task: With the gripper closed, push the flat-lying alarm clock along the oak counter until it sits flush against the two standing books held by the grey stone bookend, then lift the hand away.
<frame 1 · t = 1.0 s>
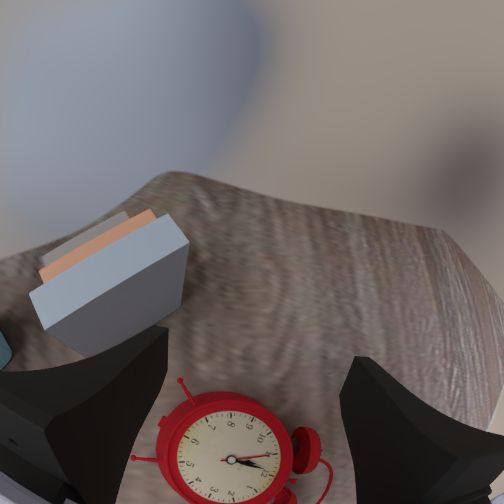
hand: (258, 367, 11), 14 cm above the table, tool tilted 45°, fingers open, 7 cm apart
alarm clock: (239, 459, 20), on the table
book row: (118, 305, 24), on the table
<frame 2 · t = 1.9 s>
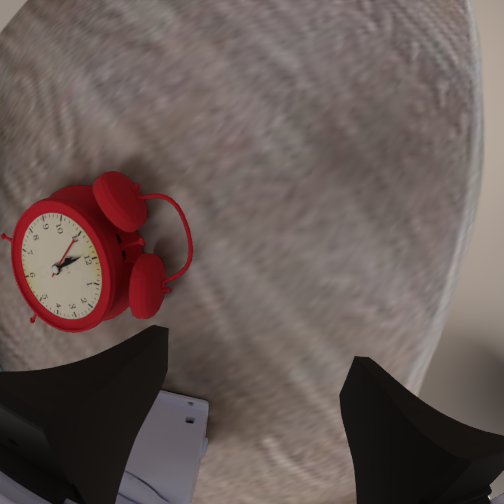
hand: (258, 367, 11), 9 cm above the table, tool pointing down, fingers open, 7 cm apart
alarm clock: (102, 248, 20), on the table
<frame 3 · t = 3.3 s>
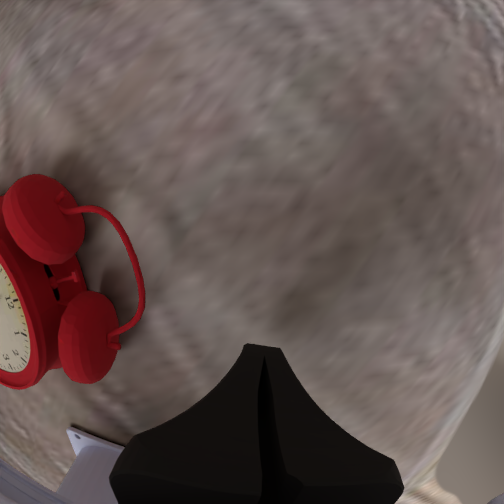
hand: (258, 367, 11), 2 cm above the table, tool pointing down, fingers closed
alarm clock: (42, 278, 14), on the table
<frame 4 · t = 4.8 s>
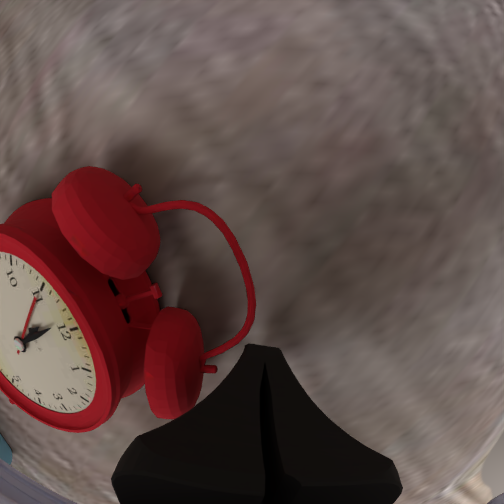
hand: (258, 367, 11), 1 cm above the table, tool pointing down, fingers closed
alarm clock: (92, 296, 12), on the table, touching gripper
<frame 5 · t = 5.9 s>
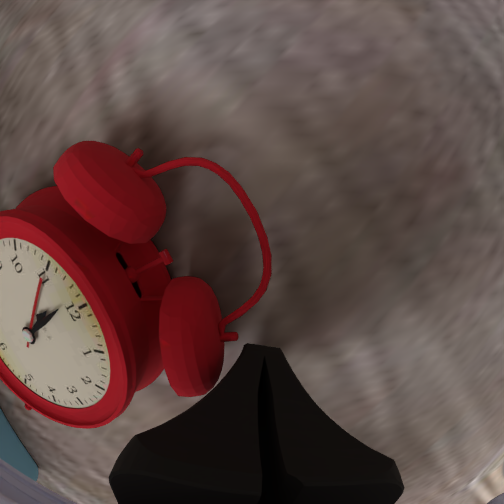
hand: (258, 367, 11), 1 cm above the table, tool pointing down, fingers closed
alarm clock: (102, 283, 12), on the table
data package: (4, 426, 17), on the table
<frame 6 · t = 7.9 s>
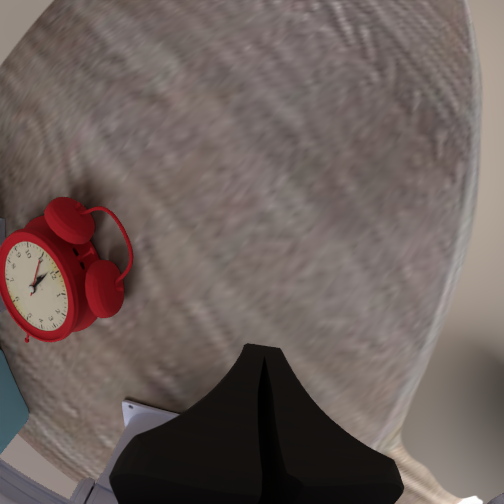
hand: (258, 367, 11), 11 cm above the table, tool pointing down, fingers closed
alarm clock: (71, 265, 22), on the table
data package: (6, 377, 27), on the table
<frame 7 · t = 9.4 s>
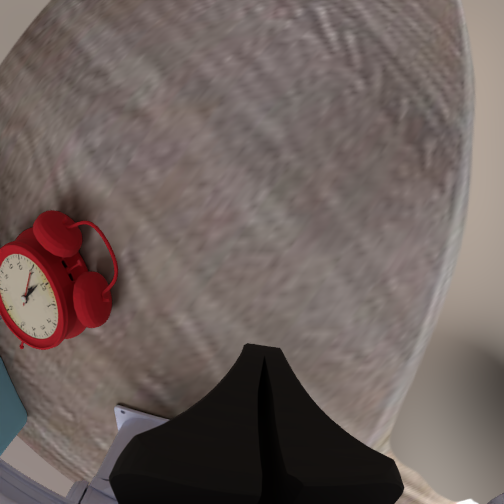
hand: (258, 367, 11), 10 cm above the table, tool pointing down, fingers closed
alarm clock: (61, 275, 22), on the table
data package: (5, 381, 27), on the table
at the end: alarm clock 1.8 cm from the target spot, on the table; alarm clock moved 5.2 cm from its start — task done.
